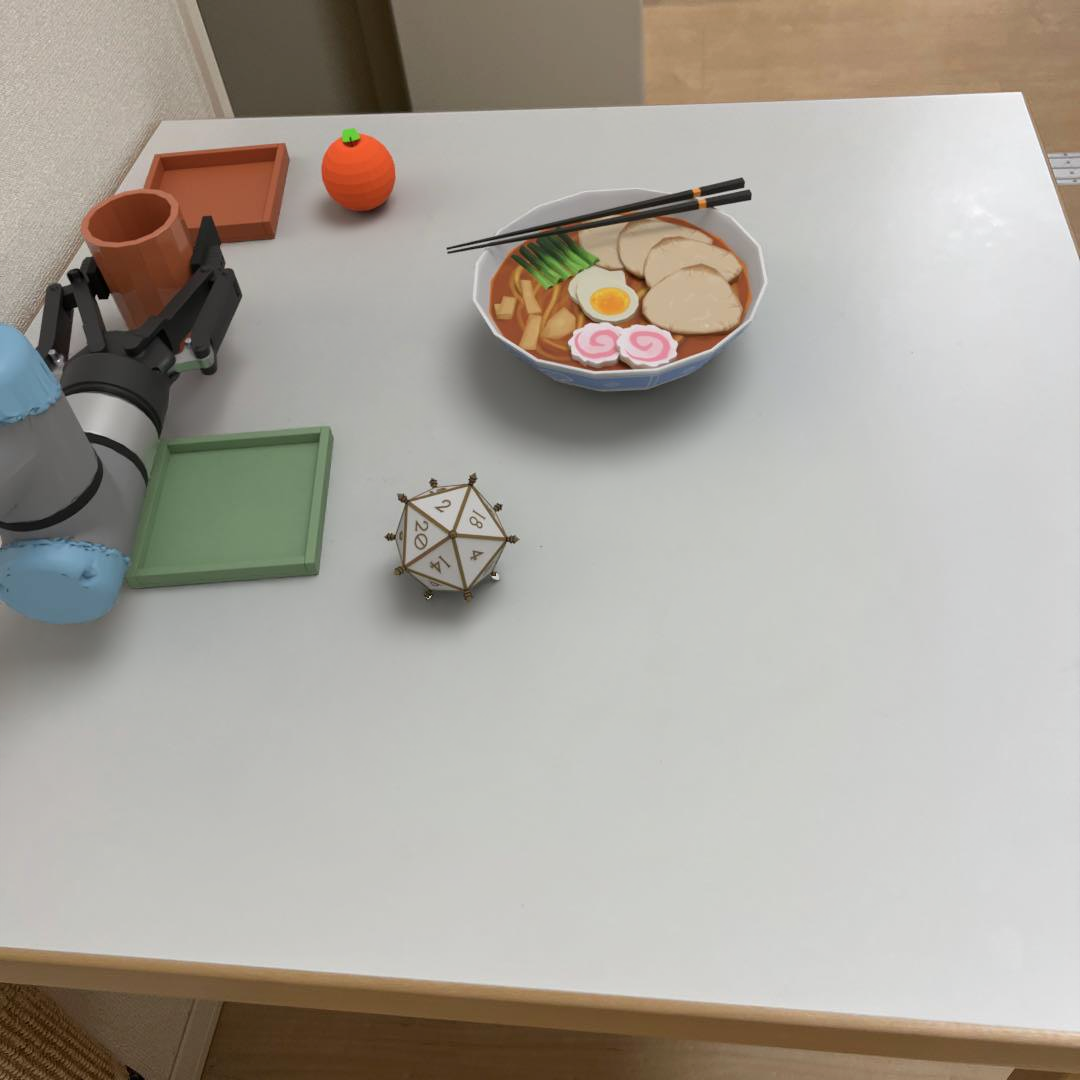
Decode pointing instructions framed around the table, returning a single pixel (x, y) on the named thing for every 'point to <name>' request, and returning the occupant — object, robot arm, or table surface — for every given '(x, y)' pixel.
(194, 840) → the table surface
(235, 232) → the terracotta tray
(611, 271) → the ramen bowl
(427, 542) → the game die
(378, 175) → the clementine
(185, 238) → the terracotta cup
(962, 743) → the table surface
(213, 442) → the sage tray
